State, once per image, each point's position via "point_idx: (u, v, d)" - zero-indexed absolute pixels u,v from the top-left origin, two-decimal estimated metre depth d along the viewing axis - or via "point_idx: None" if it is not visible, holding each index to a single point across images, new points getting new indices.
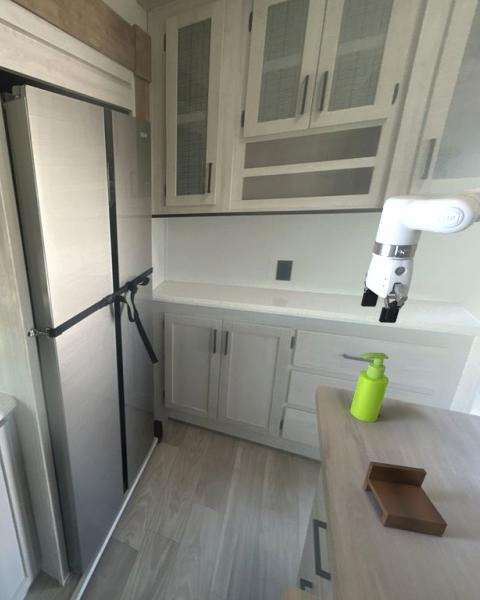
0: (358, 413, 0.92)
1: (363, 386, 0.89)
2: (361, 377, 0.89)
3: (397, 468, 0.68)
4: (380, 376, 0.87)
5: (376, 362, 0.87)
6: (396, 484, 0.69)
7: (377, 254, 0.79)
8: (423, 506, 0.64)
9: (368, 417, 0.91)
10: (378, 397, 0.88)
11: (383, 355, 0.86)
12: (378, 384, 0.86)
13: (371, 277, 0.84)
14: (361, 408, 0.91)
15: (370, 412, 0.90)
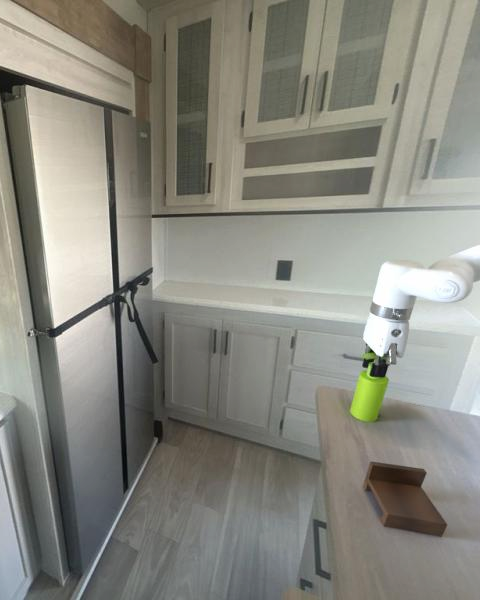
0: (358, 413, 0.92)
1: (363, 386, 0.89)
2: (361, 377, 0.89)
3: (397, 468, 0.68)
4: None
5: None
6: (396, 484, 0.69)
7: (374, 314, 0.82)
8: (423, 506, 0.64)
9: (368, 417, 0.91)
10: (378, 397, 0.88)
11: None
12: (378, 384, 0.86)
13: (368, 333, 0.86)
14: (361, 408, 0.91)
15: (370, 412, 0.90)
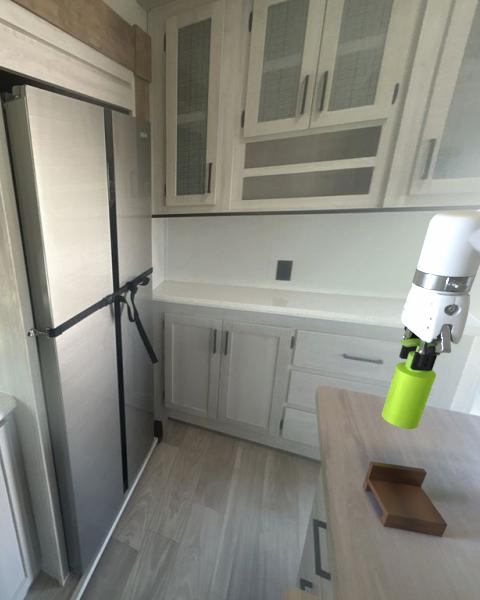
0: (393, 417, 0.71)
1: (400, 383, 0.69)
2: (399, 370, 0.69)
3: (397, 468, 0.68)
4: None
5: None
6: (396, 484, 0.69)
7: (419, 286, 0.61)
8: (423, 506, 0.64)
9: (407, 423, 0.70)
10: (421, 397, 0.67)
11: None
12: (422, 379, 0.66)
13: (409, 313, 0.66)
14: (397, 411, 0.70)
15: (410, 416, 0.69)
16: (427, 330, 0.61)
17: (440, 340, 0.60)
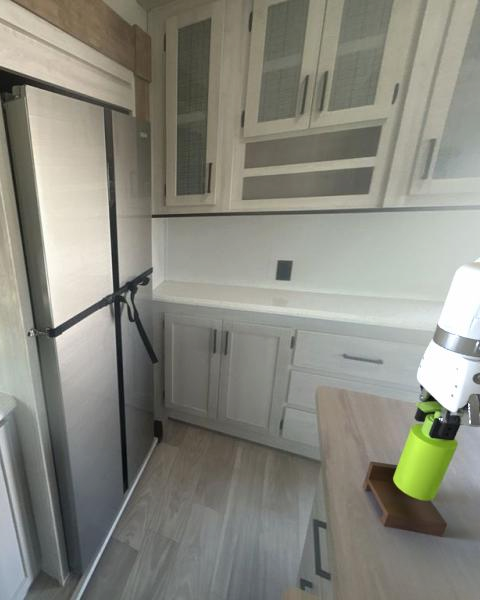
0: (407, 486, 0.63)
1: (416, 450, 0.60)
2: (415, 436, 0.60)
3: None
4: None
5: None
6: None
7: (442, 347, 0.53)
8: (423, 506, 0.64)
9: (423, 494, 0.61)
10: (441, 467, 0.58)
11: None
12: (442, 449, 0.57)
13: (428, 373, 0.57)
14: (413, 481, 0.62)
15: (428, 487, 0.61)
16: (451, 398, 0.52)
17: (467, 411, 0.51)
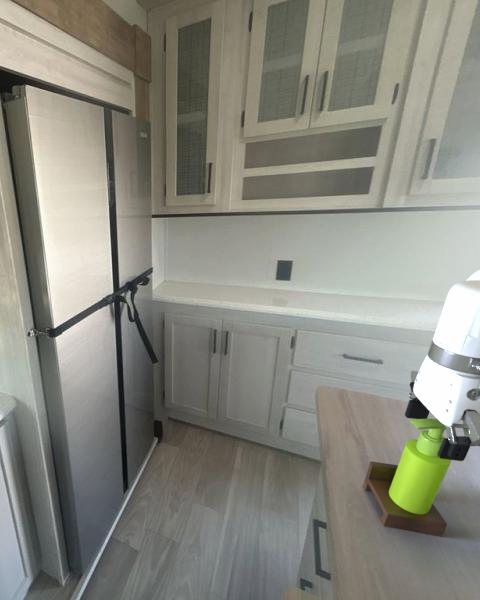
0: (402, 500, 0.64)
1: (411, 465, 0.61)
2: (409, 451, 0.61)
3: None
4: None
5: (433, 433, 0.59)
6: None
7: (437, 363, 0.54)
8: None
9: (418, 508, 0.63)
10: (435, 483, 0.60)
11: None
12: (436, 465, 0.59)
13: (424, 387, 0.58)
14: (407, 495, 0.63)
15: (422, 502, 0.62)
16: (446, 413, 0.53)
17: (467, 417, 0.51)
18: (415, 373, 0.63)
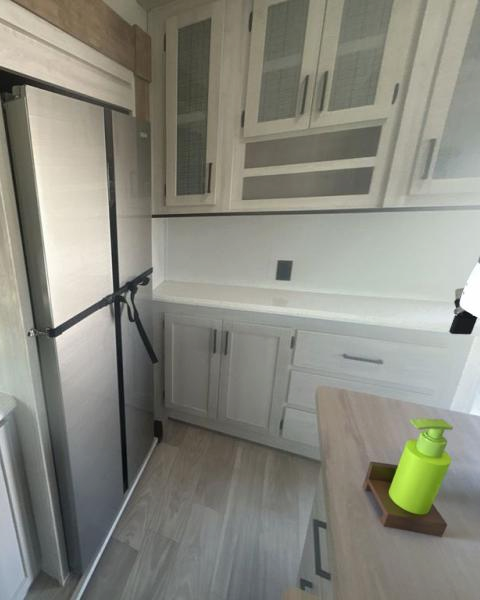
0: (402, 500, 0.64)
1: (411, 465, 0.61)
2: (409, 451, 0.61)
3: None
4: (439, 454, 0.59)
5: (433, 433, 0.59)
6: None
7: None
8: None
9: (418, 508, 0.63)
10: (435, 483, 0.60)
11: (444, 424, 0.58)
12: (436, 465, 0.59)
13: (472, 296, 0.61)
14: (407, 495, 0.63)
15: (422, 502, 0.62)
16: None
17: None
18: (460, 290, 0.66)
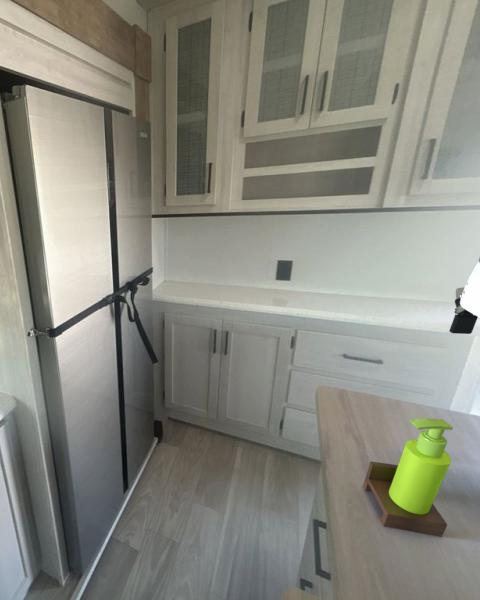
0: (402, 500, 0.64)
1: (411, 465, 0.61)
2: (409, 451, 0.61)
3: None
4: (439, 454, 0.59)
5: (433, 433, 0.59)
6: None
7: None
8: None
9: (418, 508, 0.63)
10: (435, 483, 0.60)
11: (444, 424, 0.58)
12: (436, 465, 0.59)
13: (473, 296, 0.61)
14: (407, 495, 0.63)
15: (422, 502, 0.62)
16: None
17: None
18: (461, 289, 0.66)
